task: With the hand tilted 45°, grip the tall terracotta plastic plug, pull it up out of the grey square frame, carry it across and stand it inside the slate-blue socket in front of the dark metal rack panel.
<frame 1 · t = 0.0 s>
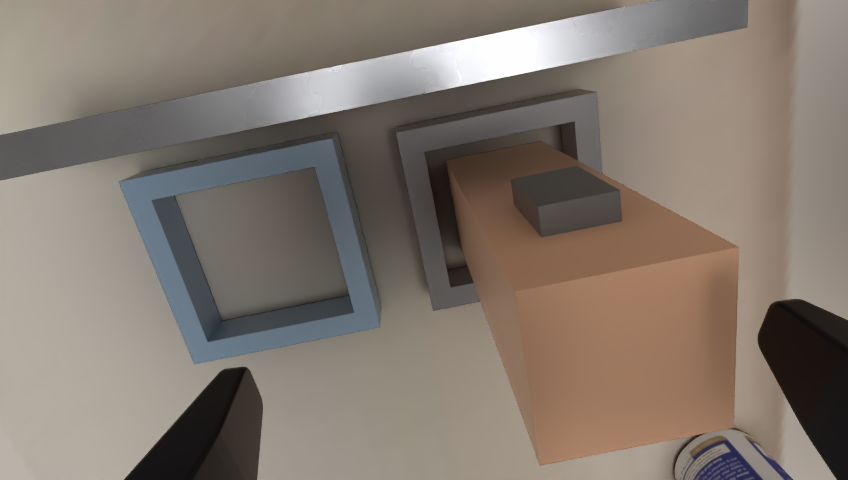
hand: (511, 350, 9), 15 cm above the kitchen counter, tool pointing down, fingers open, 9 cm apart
plug: (539, 238, 17), in the grey square frame
pill bottle: (712, 458, 30), on the kitchen counter
rack panel: (351, 80, 22), on the kitchen counter
slate-blue socket: (268, 243, 24), on the kitchen counter
grey square frame: (500, 197, 24), on the kitchen counter
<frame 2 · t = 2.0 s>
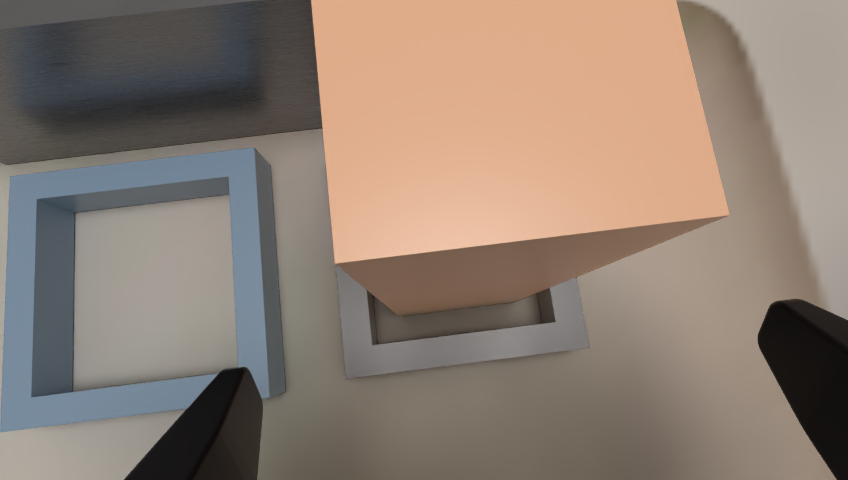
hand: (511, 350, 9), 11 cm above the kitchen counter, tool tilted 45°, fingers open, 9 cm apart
plug: (459, 192, 13), in the grey square frame
rack panel: (295, 117, 21), on the kitchen counter
slate-blue socket: (163, 287, 20), on the kitchen counter
grey square frame: (449, 252, 20), on the kitchen counter
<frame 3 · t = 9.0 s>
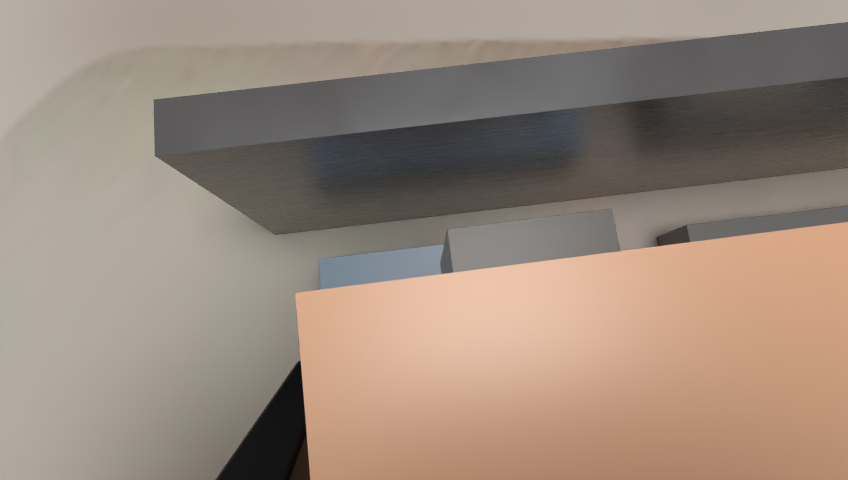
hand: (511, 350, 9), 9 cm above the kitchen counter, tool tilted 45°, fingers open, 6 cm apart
plug: (505, 397, 10), in the slate-blue socket
rack panel: (604, 179, 18), on the kitchen counter
slate-blue socket: (474, 383, 17), on the kitchen counter
grey square frame: (804, 342, 17), on the kitchen counter
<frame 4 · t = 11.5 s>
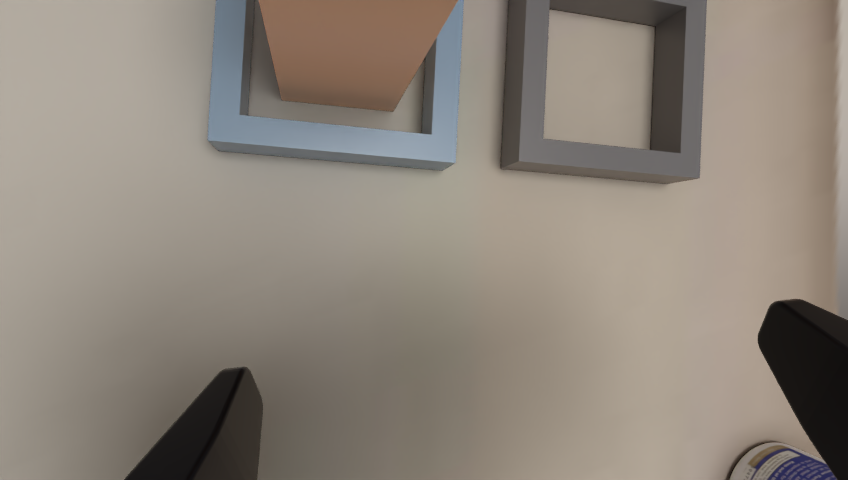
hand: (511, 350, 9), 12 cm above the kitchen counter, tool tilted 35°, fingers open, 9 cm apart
slate-blue socket: (341, 51, 20), on the kitchen counter
grey square frame: (591, 85, 23), on the kitchen counter
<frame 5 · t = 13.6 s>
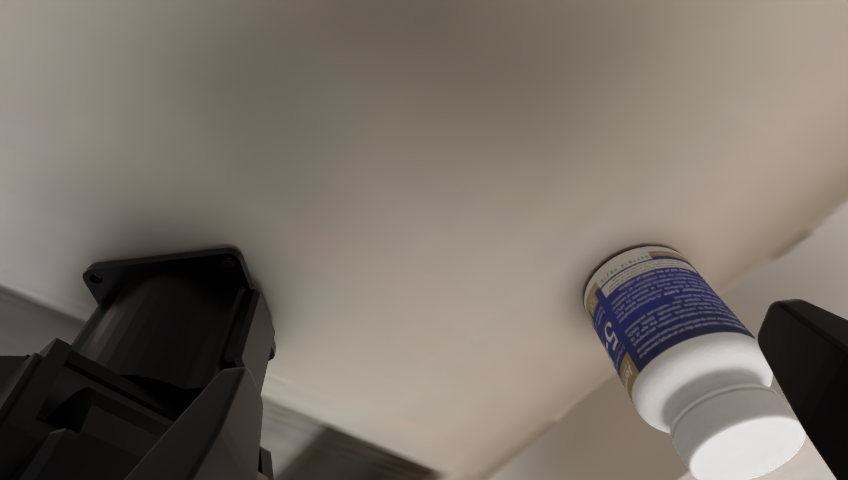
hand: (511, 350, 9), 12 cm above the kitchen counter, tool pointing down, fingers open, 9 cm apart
pill bottle: (632, 284, 24), on the kitchen counter
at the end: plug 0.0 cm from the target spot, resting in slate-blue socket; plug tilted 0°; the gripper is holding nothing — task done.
